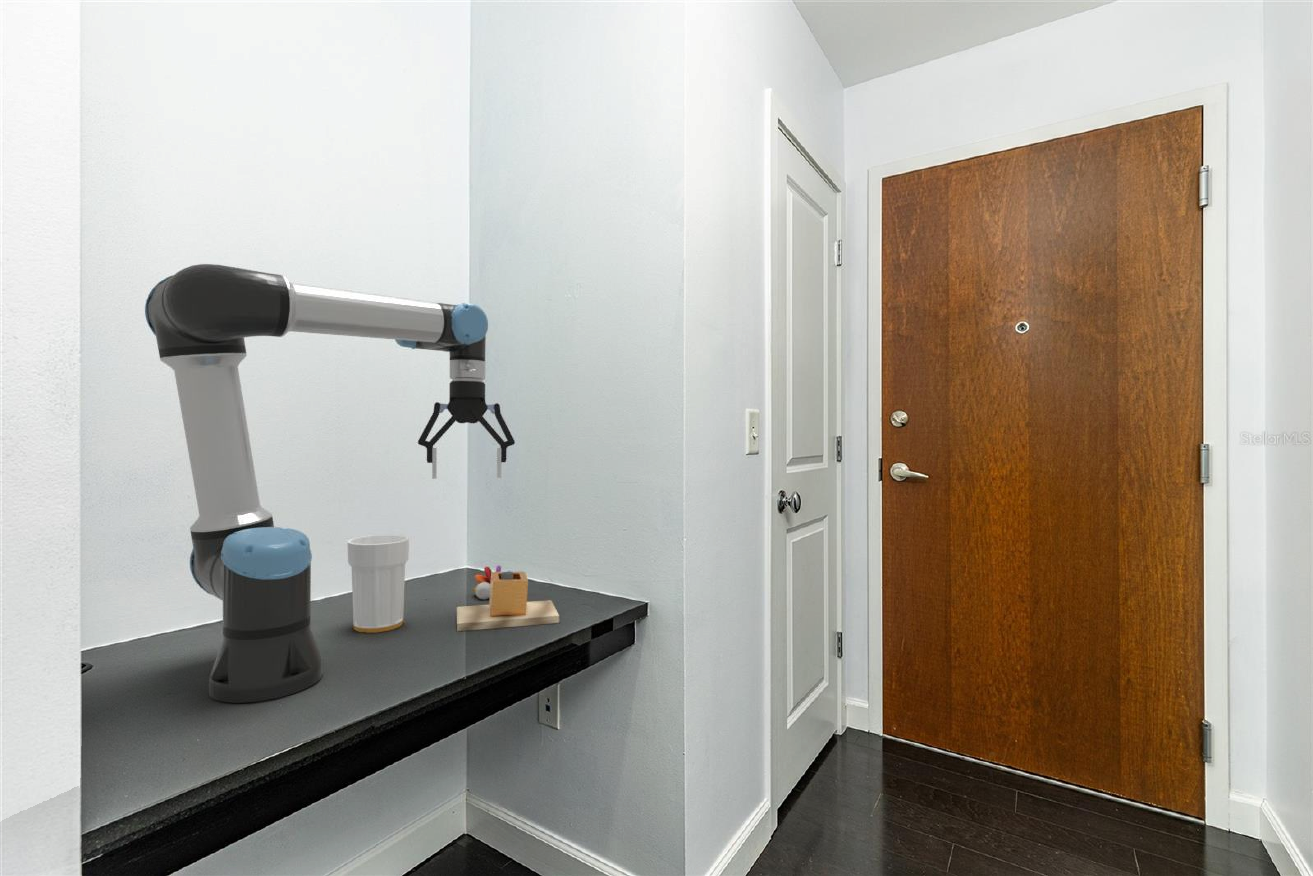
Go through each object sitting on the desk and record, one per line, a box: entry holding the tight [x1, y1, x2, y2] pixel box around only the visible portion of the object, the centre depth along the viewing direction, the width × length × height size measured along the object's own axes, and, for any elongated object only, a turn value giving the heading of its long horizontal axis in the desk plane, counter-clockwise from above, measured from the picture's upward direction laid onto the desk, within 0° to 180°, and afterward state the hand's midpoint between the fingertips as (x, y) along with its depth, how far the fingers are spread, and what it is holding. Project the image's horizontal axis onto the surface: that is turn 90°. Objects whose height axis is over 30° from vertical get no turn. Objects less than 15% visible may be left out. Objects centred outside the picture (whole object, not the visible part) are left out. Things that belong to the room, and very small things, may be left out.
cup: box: [347, 534, 410, 634], centre depth 128 cm, size 11×11×17 cm
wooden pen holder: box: [488, 571, 529, 615], centre depth 133 cm, size 7×7×7 cm
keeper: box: [456, 571, 560, 632], centre depth 133 cm, size 20×12×10 cm, turn 107°
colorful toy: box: [473, 564, 512, 600], centre depth 151 cm, size 8×10×7 cm
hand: (467, 478), depth 140 cm, fingers open, 13 cm apart
